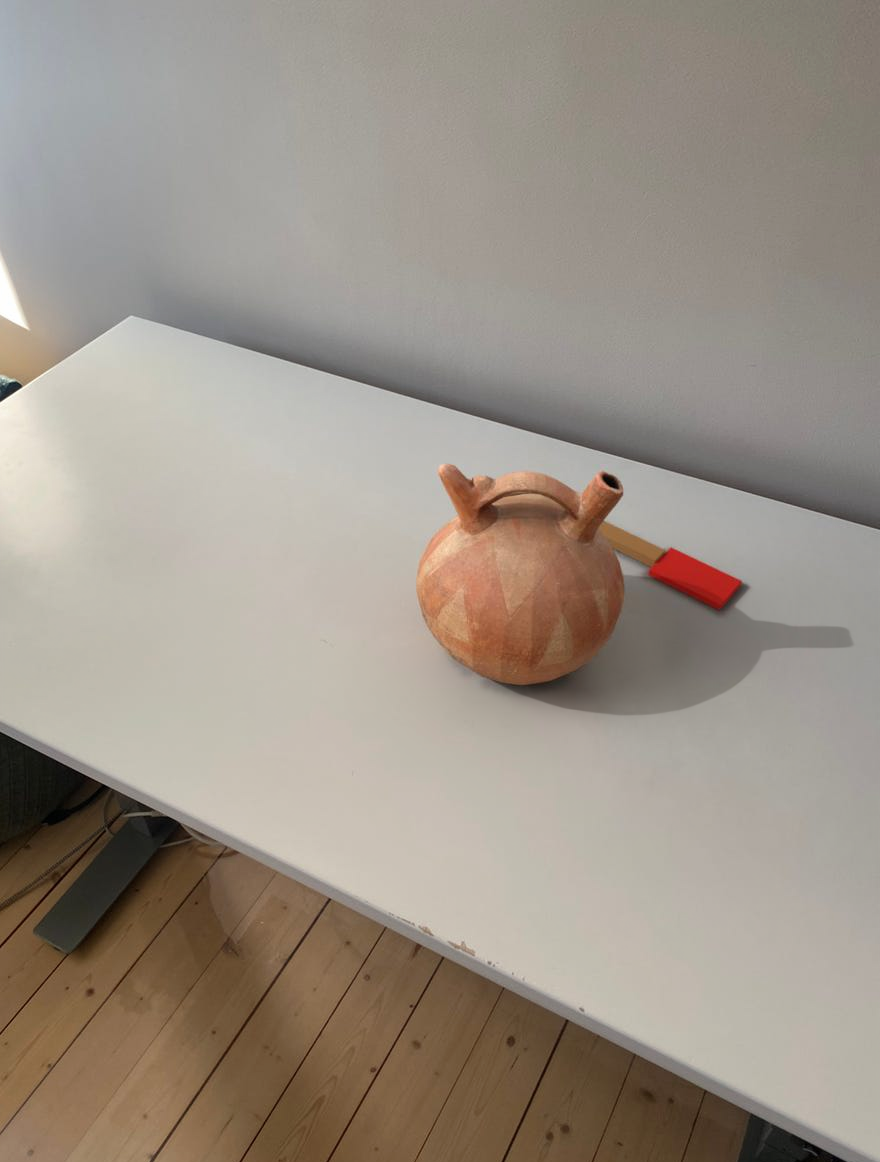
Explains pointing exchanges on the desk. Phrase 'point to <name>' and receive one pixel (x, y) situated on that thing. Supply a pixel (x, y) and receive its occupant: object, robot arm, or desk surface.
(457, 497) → the jug
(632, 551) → the spatula
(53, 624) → the desk surface
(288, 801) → the desk surface
